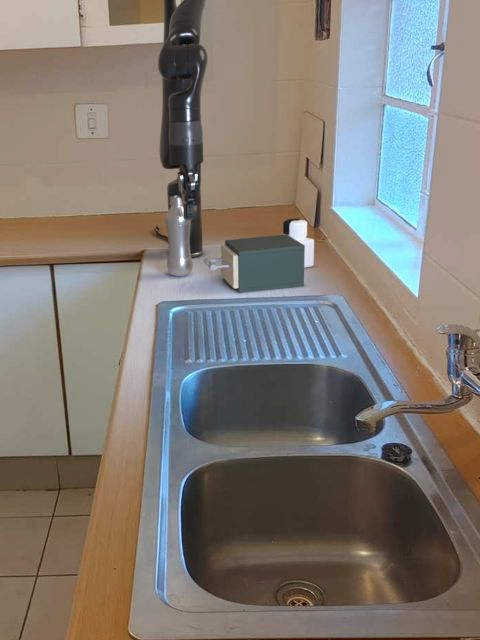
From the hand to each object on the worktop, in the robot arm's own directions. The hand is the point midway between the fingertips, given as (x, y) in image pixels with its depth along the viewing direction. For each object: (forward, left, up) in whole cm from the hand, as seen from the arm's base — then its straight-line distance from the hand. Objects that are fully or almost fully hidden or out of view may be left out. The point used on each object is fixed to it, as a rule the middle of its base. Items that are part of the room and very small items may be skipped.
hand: (188, 219), depth 174 cm
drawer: (0, +14, -16) cm, 21 cm away
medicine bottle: (-12, +30, -17) cm, 37 cm away
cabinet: (0, +18, -17) cm, 25 cm away
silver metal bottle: (-14, 0, -17) cm, 22 cm away
